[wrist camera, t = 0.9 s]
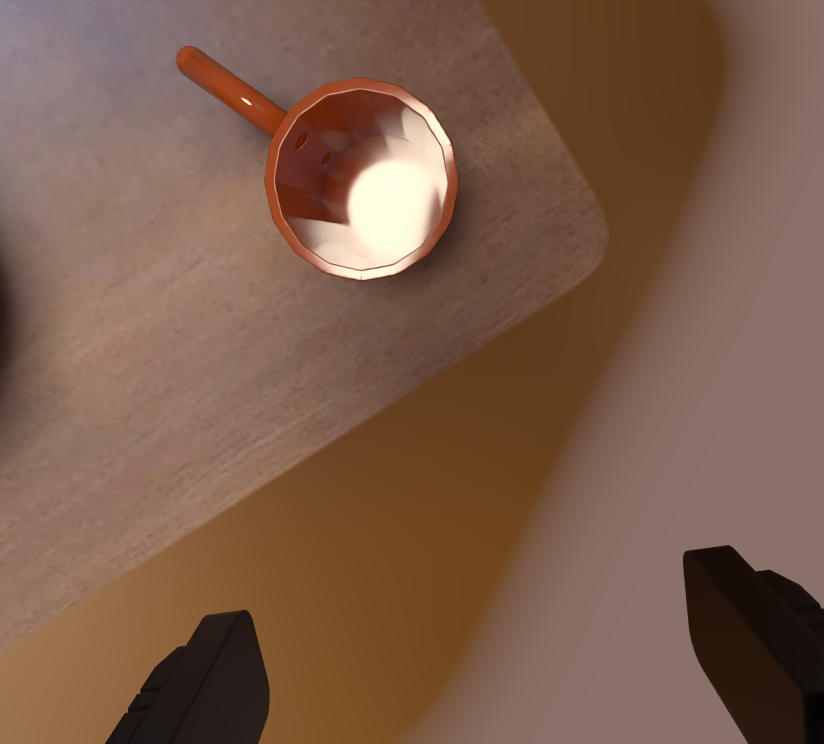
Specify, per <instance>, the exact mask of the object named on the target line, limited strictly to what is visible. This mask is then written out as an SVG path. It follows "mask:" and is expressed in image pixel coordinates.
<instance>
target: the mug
mask: <svg viewBox="0 0 824 744" xmlns="http://www.w3.org/2000/svg"><path fill="white" fill-rule="evenodd" d="M176 64H177V67H178V69H179V71H180V72H181V73H182V74H183V75H184V76H186V77H187V78H188V79H190V80H191V81H193V82H194V83H195V84H197V85H198V86H200V87H201V88H202V89H204V90H205V91H207V92H208V93H210V94H211V95H212V96H214V97H215V98H217V99H218V100H219V101H221V102H222V103H224V104H225V105H227V106H228V107H229V108H231V109H232V110H234V111H235V112H236V113H238V114H239V115H241V116H242V117H243V118H245V119H246V120H248V121H249V122H251V123H252V124H253V125H255V126H256V127H258V128H259V129H260V130H262V131H263V132H265V133H266V134H268V135H269V136H270V137H272V140H271V143H270V146H269V153H268V159H267V166H266V172H265V178H264V181H265V182H264V184H265V188H266V193H267V197H268V202H269V206H270V211H271V215H272V219H273V221H274V223H275V224H276V226H277V227H278V229H279V230H280V232H281V233H282V235H283V236H284V238H285V239H286V241H287V242H288V244H289V245H290V247H291V248H292V250H293V251H295V253H296V254H298V255H299V256H301V257H302V258H303V259H305V260H306V261H308V262H309V263H311V264H312V265H314V266H315V267H317V268H318V269H319V270H321V271H322V272H324V273H326V274H330V275H335V276H339V277H344V278H348V279H353V280H357V281H366V280H372V279H377V278H382V277H388V276H393V275H397V274H399V273H401V272H402V271H404V270H406V269H407V268H409V267H410V266H412V265H413V264H415V263H416V262H418V261H419V260H421V259H422V258H424V257H425V256H427V255H428V254H429V253H430V252H431V250H432V249H433V248H434V246H435V245H436V243H437V242H438V240H439V239H440V237H441V236H442V234H443V233H444V231H445V230H446V229H447V227H448V226H449V224H450V222H451V219H452V214H453V210H454V205H455V201H456V196H457V192H458V187H459V179H458V173H457V167H456V161H455V154H454V148H453V145H452V142H451V140H450V139H449V137H448V135H447V134H446V132H445V130H444V129H443V127H442V125H441V124H440V122H439V120H438V119H437V117H436V115H435V114H434V112H433V111H432V110H431V108H429V107H428V106H427V105H425V104H424V103H423V102H421V101H420V100H418V99H417V98H416V97H414V96H413V95H412V94H410V93H409V92H408V91H406V90H405V89H403V88H402V87H401V86H398V85H394V84H390V83H385V82H381V81H376V80H372V79H367V78H363V77H362V78H360V77H359V78H354V79H349V80H344V81H340V82H335V83H330V84H325V85H323V86H321V87H319V88H318V89H316V90H315V91H314V92H312V93H311V94H309V95H308V96H307V97H305V98H304V99H303V100H301V101H300V102H298V103H297V104H296V105H294V106H293V107H292V108H291V109H290V110H289V112H286V111H285V110H283V109H282V108H281V107H279V106H278V105H276V104H275V103H274V102H272V101H271V100H269V99H268V98H267V97H265V96H264V95H262V94H261V93H260V92H258V91H257V90H255V89H254V88H253V87H251V86H250V85H248V84H247V83H246V82H244V81H243V80H241V79H240V78H239V77H237V76H236V75H234V74H233V73H232V72H230V71H229V70H227V69H226V68H225V67H223V66H222V65H220V64H219V63H218V62H216V61H215V60H213V59H212V58H211V57H209V56H208V55H206V54H205V53H204V52H202V51H201V50H199V49H198V48H196V47H193V46H185V47H183V48H181V49H180V50H179V51H178V53H177V56H176Z"/></svg>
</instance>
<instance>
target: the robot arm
mask: <svg viewBox="0 0 824 744" xmlns="http://www.w3.org/2000/svg"><path fill="white" fill-rule="evenodd" d="M683 569H684V580H685V590H686V601H687V612H688V623H689V631H690V637H691V641H692V645H693V648H694V651H695V654H696V656H697V659H698V661H699V663H700V665H701V667H702V669H703V671H704V672H705V674H706V675H707V677H708V679H709V680H710V682H711V684H712V685H713V687H714V689H715V690H716V692H717V694H718V695H719V697H720V698H721V700H722V702H723V703H724V705H725V707H726V708H727V710H728V712H729V713H730V715H731V716H732V718H733V720H734V721H735V723H736V725H737V726H738V728H739V729H740V731H741V732H742V734H743V736H744V737H745V739H746V741H747V743H748V744H824V609H821V607H820V604H819V603H818V602H817V601H816V600H815V599H814V598H813V597H812V596H811V595H810V594H809V593H807V591H805V590H804V589H803V588H802V587H801V586H800V585H799V584H797V583H795V582H793V581H791V580H789V579H787V578H785V577H783V576H781V575H779V574H777V573H775V572H773V571H771V570H764V571H755V570H754V569H753V568H752V567H751V566H750V565H749V564H748V563H747V562H746V561H745V560H744V559H743V558H742V557H741V556H740V555H739V553H738V552H737V551H736V550H735V549H734V548H733V547H731V546H729V545H726V546H719V547H711V548H705V549H697V550H690V551H686V552H685V553H684V555H683ZM140 691H141V692H140V694H137V696H136V697H135V699H134V700H133V702H132V703H131V705H130V706H129V708H128V713H125V714H124V715H123V717H122V718H121V720H120V721H119V723H118V725H117V726H116V728H115V729H114V731H113V732H112V734H111V735H110V737H109V738H108V740H107V741H106V743H105V744H258V743H259V740H260V737H261V734H262V731H263V728H264V725H265V723H266V720H267V716H268V711H269V701H270V700H269V699H270V698H269V697H270V695H269V694H270V693H269V684H268V678H267V674H266V670H265V667H264V662H263V659H262V655H261V651H260V647H259V643H258V639H257V635H256V631H255V627H254V624H253V620H252V617H251V615H250V613H249V612H248V611H246V610H240V611H233V612H225V613H217V614H210V615H206V616H205V617H204V618H203V619H202V620H201V622H200V624H199V626H198V627H197V629H196V630H195V632H194V634H193V635H192V637H191V639H190V640H189V642H188V643H187V645H186V646H181V647H177V648H176V649H175V650H174V651H173V652H172V653H171V654H169V655H168V656H167V657H166V658H165V659H164V660H163V661H162V662H160V663H159V664H158V665H157V666H156V667H155V668H154V670H153V671H152V673H151V674H150V676H149V677H148V679H147V680H146V682H145V683H144V685H143V686H142V688H141V690H140Z"/></svg>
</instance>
